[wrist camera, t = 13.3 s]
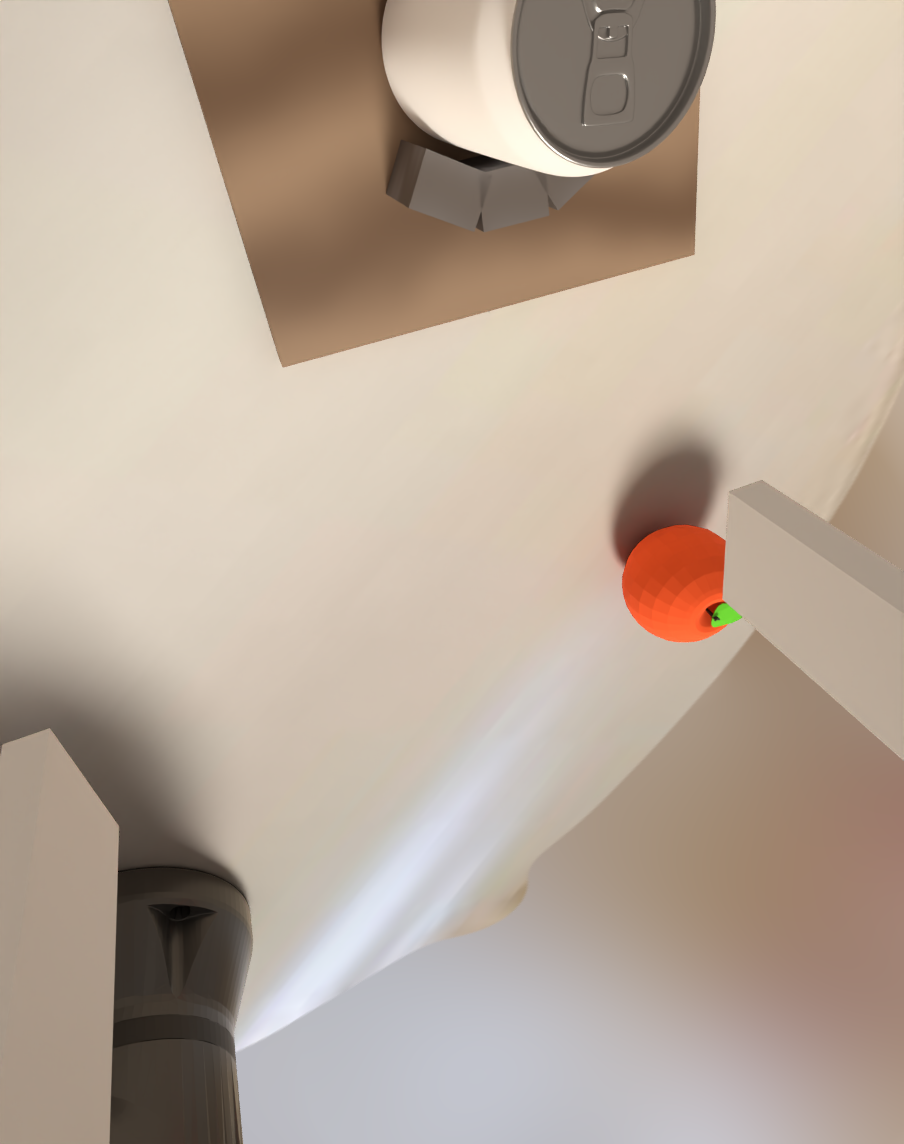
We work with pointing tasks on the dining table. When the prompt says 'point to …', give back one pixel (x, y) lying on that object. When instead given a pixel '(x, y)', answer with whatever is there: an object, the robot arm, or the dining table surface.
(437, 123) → the can
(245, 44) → the wooden board with blocks
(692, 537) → the clementine
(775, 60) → the dining table surface
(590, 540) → the dining table surface
